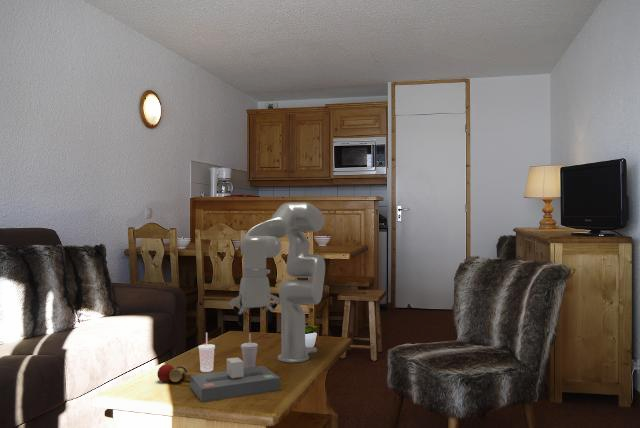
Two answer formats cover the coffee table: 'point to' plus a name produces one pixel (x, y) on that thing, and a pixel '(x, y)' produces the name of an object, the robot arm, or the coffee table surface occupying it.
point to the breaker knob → (235, 367)
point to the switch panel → (234, 384)
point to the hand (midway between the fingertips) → (255, 324)
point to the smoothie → (249, 353)
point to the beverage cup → (206, 356)
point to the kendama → (173, 373)
